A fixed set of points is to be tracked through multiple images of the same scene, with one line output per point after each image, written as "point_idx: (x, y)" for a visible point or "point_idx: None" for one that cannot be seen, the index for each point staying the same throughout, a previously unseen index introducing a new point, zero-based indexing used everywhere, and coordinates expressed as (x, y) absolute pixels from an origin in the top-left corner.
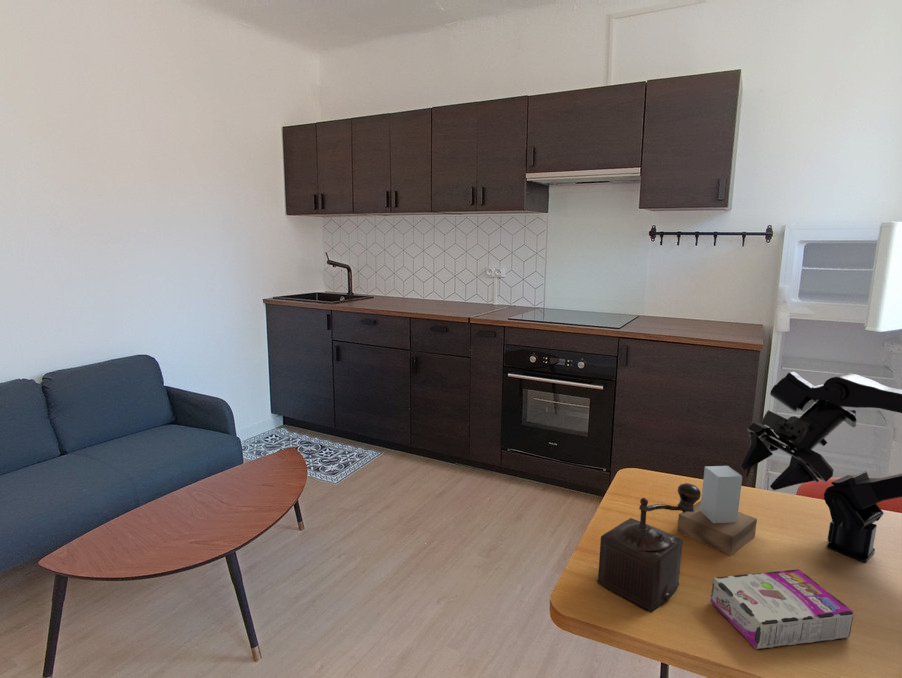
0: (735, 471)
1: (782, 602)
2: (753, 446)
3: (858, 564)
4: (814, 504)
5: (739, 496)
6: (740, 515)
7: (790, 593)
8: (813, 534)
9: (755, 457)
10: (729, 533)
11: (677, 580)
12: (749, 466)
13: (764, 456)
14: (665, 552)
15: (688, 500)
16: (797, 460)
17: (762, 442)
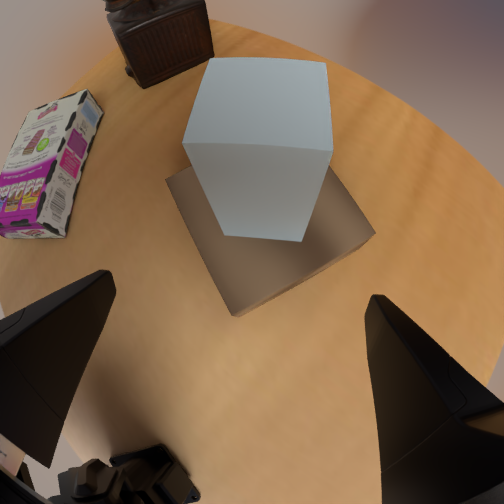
0: (248, 143)
1: (22, 146)
2: (472, 407)
3: (108, 442)
4: None
5: (207, 195)
6: (260, 276)
7: (22, 166)
8: (223, 467)
9: (398, 401)
10: (179, 179)
11: (137, 78)
12: (369, 346)
13: (389, 472)
14: (109, 21)
15: None
16: None
17: (464, 499)
